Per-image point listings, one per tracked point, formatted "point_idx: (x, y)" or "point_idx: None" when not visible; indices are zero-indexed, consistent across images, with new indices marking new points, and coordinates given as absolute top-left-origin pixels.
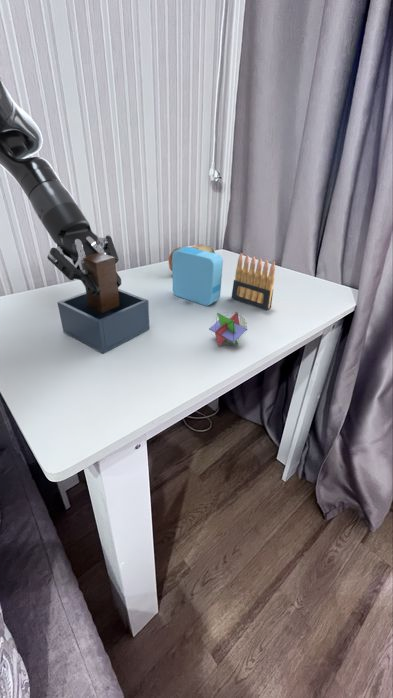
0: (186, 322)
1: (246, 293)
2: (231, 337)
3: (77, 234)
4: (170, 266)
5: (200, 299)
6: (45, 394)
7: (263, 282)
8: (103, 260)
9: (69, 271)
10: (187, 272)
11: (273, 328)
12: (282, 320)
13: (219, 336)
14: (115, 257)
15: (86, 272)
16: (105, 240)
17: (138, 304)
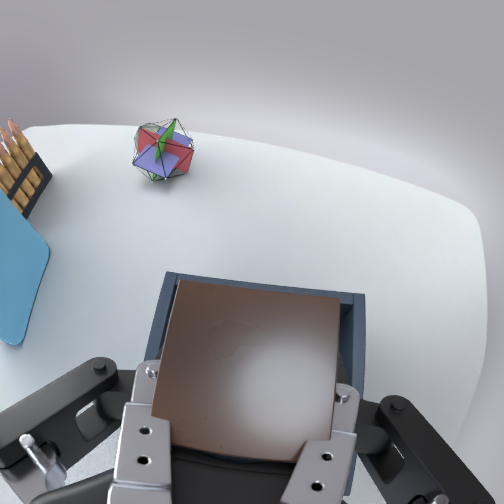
0: (123, 256)
1: (21, 198)
2: (182, 143)
3: None
4: None
5: (38, 266)
6: (457, 307)
7: (22, 155)
8: (276, 293)
9: (378, 463)
10: None
11: (104, 148)
12: (78, 150)
13: (184, 158)
14: (95, 368)
15: (339, 388)
16: (13, 457)
17: (207, 277)
